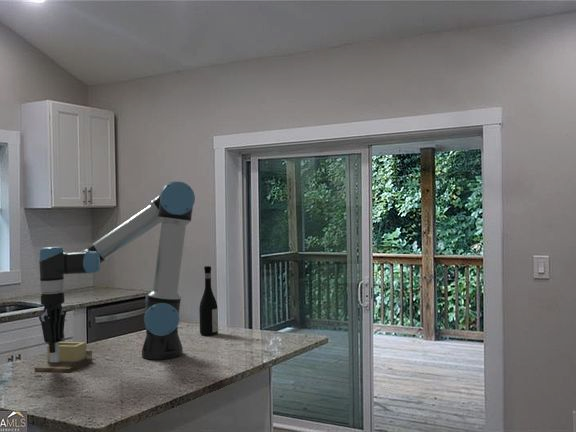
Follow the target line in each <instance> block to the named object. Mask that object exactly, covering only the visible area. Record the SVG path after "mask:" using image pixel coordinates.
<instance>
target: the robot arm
mask: <svg viewBox="0 0 576 432" xmlns="http://www.w3.org/2000/svg"><path fill="white" fill-rule="evenodd" d="M195 197H196V196H195V192H194V190H193V188H192V187H191V186H190V185H189V184H187V183H186V182H183V181H176V180H175V181H171V182H169V183H167V184H166V185H164V187H162V189H161V192H160V194H159V195H158V196H156V197H155V198H154V199H152V200H151V201H150V204H149V205H148V206H146V207H145V208H144V209H142V210H140V211H139V212H138V213H136V214H134V215H133V216H131V217H130V218H129V219H127V220H126V221H124V222H123V223H121V224H120V225H119V226H117V227H115V228H114V229H112V230H111V231H110V232H109V231H108V233H106V234H105V235H104V236H102V237H101V238H99V239H98V240H96V241H95V242H93V243H92V244H89V245H88V246H86V248H84V249H83V250H80V251H74V252H73V251H72V252H66V251H64V248H63V247H62V246H50V247H48V246H47V247H42V248H40V250H39V261H38V263H39V264H38V265H39V278H40V279H39V281H40V282H39V283H40V293H41V294H40V304H41V305H42V306H43V314H42V315H39V317H38V319H39V321H40V324H41V329H42V336H43V340H44V341H43V342H44V343H46V344H48V343H49V352H50V362H59V361H60V360H59V341H60V342H61V341H62V338H63V333H64V334H65V321H66V316H67V309H63V305H62V304H64V303H65V292H64V291H65V275H74V274H77V275H78V274H79V275H80V274H82V275H83V274H89V275H90V274H94V273H95V274H96V273H99V272H100V270H101V264H102V263H103V262H105V261H106V260H107V259H109V258H111V257H112V256H113V255H115V254H117V253H118V252H120V250H122V249H123V248H125V247H126V246H129V244H131V243H132V242H134V241H135V240H137V239H138V238H139V237H141V236H143V235H144V234H146V233H148V232H149V231H150V230H152V229H153V228H155V227H156V226H158V225H159V224H160V223H161V225H160V231H159V239H158V246H157V247H158V249H157V254H156V255H157V256H156V261H155V262H156V263H155V271H154V279H153V283H152V284H153V286H152V290H151V291H150V292H149V293H147V295H146V296H145V301H144V304H145V313H144V316H143V322H144V326H145V338H144V342H143V344H142V348H141V358H143V359H146V360H167V359H169V360H170V359H174V358H178V357H181V356H183V355H184V353H183V352H184V348H183V344H182V342H181V340H180V337H179V332H178V331H179V330H178V329H179V328H178V327H179V326H178V325H179V323H180V315H179V314H180V309H181V301H182V299H181V298H182V297H181V296H180V295H179V293H178V291H179V289H178V288H179V282H180V281H179V280H180V275H181V266H182V258H183V252H184V245H185V244H184V243H185V235H186V228H187V225H189V224H190V223H191V222H192V218H193V217H192V215H193V207H194V204H195V199H196V198H195Z"/></svg>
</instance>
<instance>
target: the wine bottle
mask: <svg viewBox="0 0 576 432" xmlns="http://www.w3.org/2000/svg"><path fill="white" fill-rule="evenodd" d="M203 268H204V270H203V271H204V291H203V294H202V297H201V299H200V301H199V302H200V303H199V333H200V335H201V336H205V337H211V336H215V335H218V332H219V312H218V303H217V300H216V298H215V295H214V293H213V289H212V266H209V265H206V266H203Z"/></svg>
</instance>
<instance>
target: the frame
mask: <svg viewBox="0 0 576 432" xmlns="http://www.w3.org/2000/svg"><path fill="white" fill-rule="evenodd" d="M46 347H47V349H46V350H47V352H46V353H47V362H48V363H68V364H76V363H79V362H81V361H83V360H85V359H87V354H86V350H87V342H86V341H85V342H84V341H81V342H80V341H65V342H59V360H60V361H59V362H50V352H49V345H48V344H47V345H46Z"/></svg>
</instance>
